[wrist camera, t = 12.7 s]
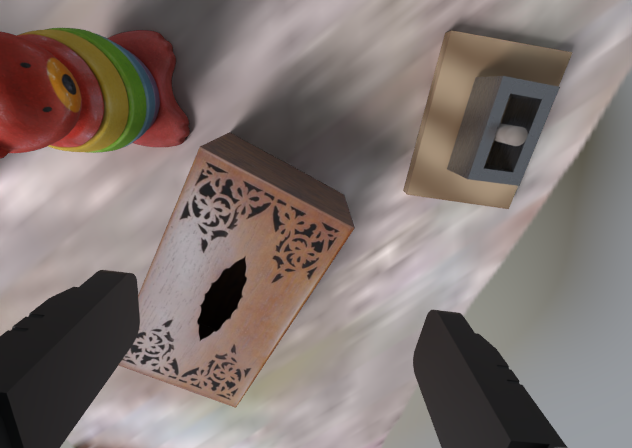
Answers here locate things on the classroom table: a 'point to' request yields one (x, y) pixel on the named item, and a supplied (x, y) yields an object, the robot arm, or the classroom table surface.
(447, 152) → the keeper board
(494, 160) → the grey storage bin
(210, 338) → the tissue box cover
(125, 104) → the stacking bear
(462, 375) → the robot arm
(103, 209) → the classroom table surface
